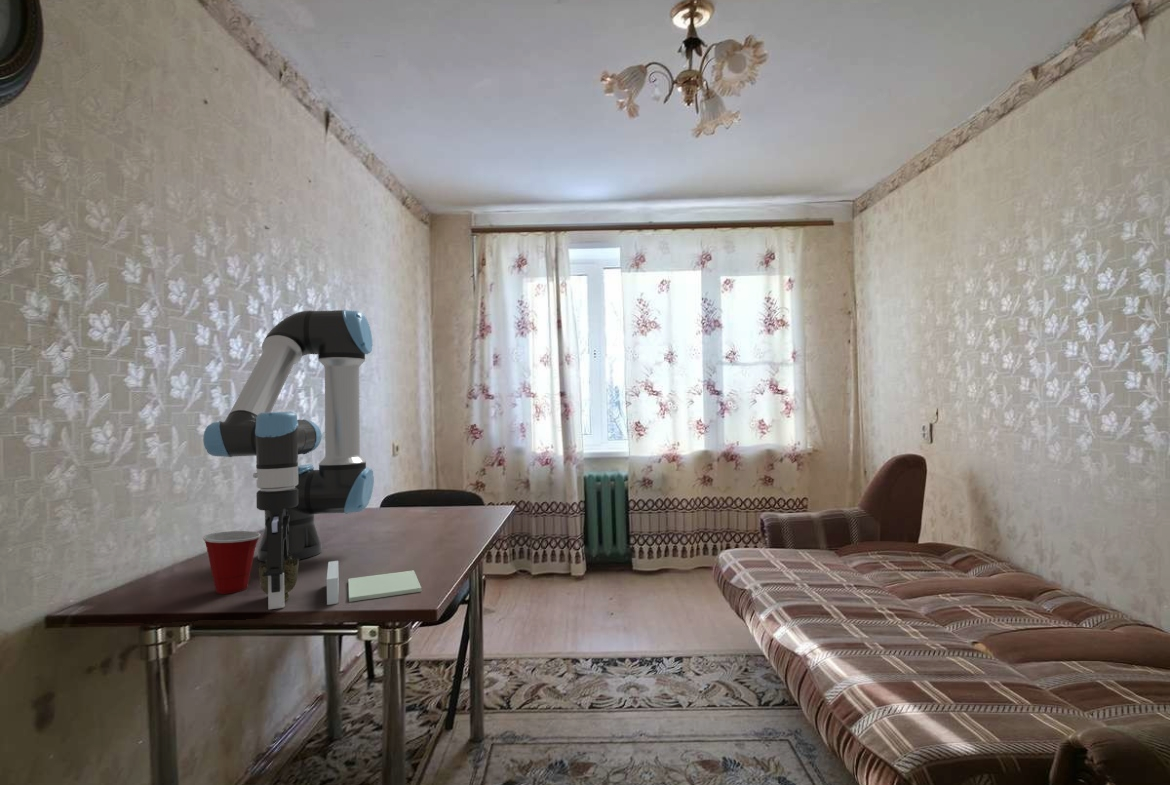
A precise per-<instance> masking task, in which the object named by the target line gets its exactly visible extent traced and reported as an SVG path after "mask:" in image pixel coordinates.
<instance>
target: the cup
mask: <svg viewBox="0 0 1170 785" xmlns="http://www.w3.org/2000/svg"><path fill="white" fill-rule="evenodd" d="M299 563H300V559H299V560H298V558H297V560H295V558H294V557H293V558H291V557H289V558H288V559H287V560H286V561H285V557H283V570H284V572H283V573H284V602H286V601H287V600H288V599H290V592H291V591H293V590H294V588H295V586H296V585H297V581H298V576H299V575H298V574H299ZM276 567H277V566H276ZM272 568H275V567H272ZM257 569H258V576H259V583H260V587H261V590H262V592H263V593H265V594H266V595H268V576H264V572H266V571H267V560H266V561H265V562H264V564H262V563H261V562H259V563H258V564H257ZM288 592H289V593H288Z"/></svg>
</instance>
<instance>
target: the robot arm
mask: <svg viewBox="0 0 1170 785" xmlns="http://www.w3.org/2000/svg"><path fill="white" fill-rule="evenodd" d="M366 317H367V316H366V315H364V313H363V312H361V311H358V310H348V309H347V310H346V309H341V310H339V309H338V310H335V309H334V310H303V311H298V312H296V313H293V314H291V315H288V316H287V317H285V318H284V319H283V320H281V321H279V322H278V323H277V324H276V325H275V326H273V327H272V328H271V330H270V331H269V332H268V333H267V334H266V337H265V338H264V340H263V342H262V344H261V350H262V353H261V355H260V357H259V358H258V361H256V364H255V366H254V367H253V369H252V371H251V373H250V375H249V377H248V379H247V380H246V382H245V384H244V386H243V388H242V390H241V392H240V393H239V395H238V396H237V399H236V400H235V402H234V404H233V406H232V407H231V410H230V412H228V414H227V417H226V419H225V421H217V422H211V423H210V424H208V425H207V426H206V428H205V430H204V433H203V439H202V441H203V446H204V449H205V450H206V452H207V453H208V454H209V455H210V456H212V457H219V458H220V457H224V458H226V457H228V458H233V457H255V459H256V466H255V467H256V472H254V473H253V474H252V478H255V479H256V478H257V479H256V488H257V489H259V490H257V492H256V496H255V497H256V509H257V510H259V511H264V531H263V534H262V535H261V538H260V542H259V544H258V545H259V546H258V547H257V560H258V561H259V562H264V563H265V561H266V560H267V571H266V572H264V576H268V594H267V598H268V602H267V604H268V605H267V606H268V607H267V608H268V610H274V609H282V608H285V601H284V573H283V572H284V570H283V557H285V561H286V560H287V559H288V558H289V557H291V558H293V557H294V558H295V560H297V558H298V560H299V561H300V560H303V559H307V558H311V557H314V556H317V555H318V554H320V553H321V552H322V551H323V550H322V549H323V548H322V545H323V544H322V540H321V537H320V536H319V532H318V530H317V527H316V525H315V515H323V514H324V515H326V514H346V515H347V514H351V513H353V514H354V513H360V512H361V513H362V511H363V512H364V510H366V508H367V507H368V505H369V504H370V500H371V498H372V495H373V489H374V483H375V482H374V479H375V478H374V477H375V476H374V471H373V469H371V468H370V467H367V461H366V459H364V458H363V457H362V456H361V444H360V443H361V440H360V438H361V437H360V436H361V435H360V433H361V432H360V427H361V426H360V367H361V366H362V364H363V363H364V362H366V355H368V354H370V353H371V352H372V350H373V337H372V330H371V327H370V324H369V322H368V319H367V318H366ZM307 355H317V357H318V358H317V359H318V362H319V363H320V364H322V366H323V367H324V451H325V452H324V455H325V456H324V458H323V459H322V460H321V461H320V462H318V469H315V467H314V465H313V464H303V465H299V459H298V458H299V455H306V454H308V453H310V452H313V451H315V450H316V449H317V448H318V447H319V446H320V444H321V442H322V432H321V429H320V427H319V426H318V425H317V424H316V423H315V422H314V421H311V420H307V419H298V415H297V413H295V412H293V411H285V412H284V411H279V412H278V411H275V412H272V410H273V408H274V406H275V405H276V402H277V400H278V398H279V396H280V394H281V391H282V390H283V388H284V386H285V383H286V382H287V379H288V377H289V374H290V373H291V371H292V368H293V366H294V365H296V364H298V363H299V362H300V361H301V360H302V357H303V356H307ZM276 566H277V567H276ZM272 567H275V568H272ZM288 593H289V594H290V592H288Z"/></svg>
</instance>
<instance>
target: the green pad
mask: <svg viewBox="0 0 1170 785" xmlns="http://www.w3.org/2000/svg"><path fill="white" fill-rule="evenodd" d="M347 581H348V602H349V603H350V602H351V603H352V602H356V601H357V602H358V601H364V600H371V599H372V600H373V599H379V598H386V597H392V596H399V595H407V594H414V593H421V592H422V586H421V584H420V582H419V579H418V576H417V574H416V572H415V570H406V571H399V572H389V573H383V574H381V573H380V574H375V575H367V576H359V577H351V578H348V580H347Z"/></svg>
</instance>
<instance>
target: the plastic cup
mask: <svg viewBox="0 0 1170 785" xmlns="http://www.w3.org/2000/svg"><path fill="white" fill-rule="evenodd" d="M261 537H262V534H261V533H260V532H259V531H257V532H256V531H252V530H251V531H249V530H233V531H229V530H228V531H219V532H213V533H209V534H205V535H204V536H202V538H203V541H204V544H205V547H206V552H207V556H208V560H209V565H210V570H211V577H212V579H213V583H214V589H215V590H216V591H215V592H216V593H217V594H221V595H222V594H223V595H224V594H226V595H227V594H234V593H238V592H241V591H244V590H246V589H247V588H248V586H249V583H250V582H249V580H250V574H251V571H252V567H253V562H254V556H255V550H256V546H257V544H258V540H259V538H261Z"/></svg>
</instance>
